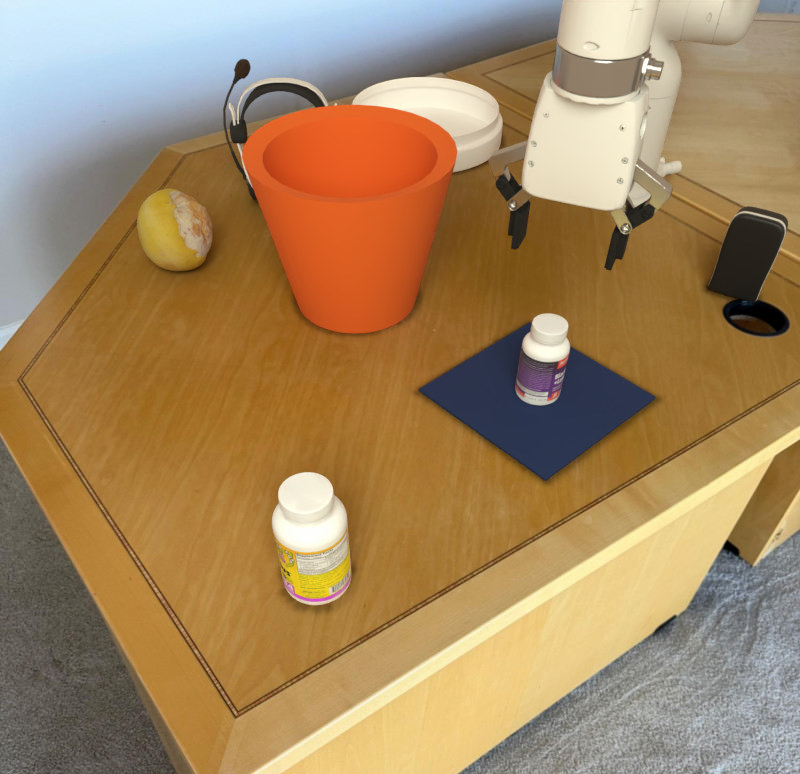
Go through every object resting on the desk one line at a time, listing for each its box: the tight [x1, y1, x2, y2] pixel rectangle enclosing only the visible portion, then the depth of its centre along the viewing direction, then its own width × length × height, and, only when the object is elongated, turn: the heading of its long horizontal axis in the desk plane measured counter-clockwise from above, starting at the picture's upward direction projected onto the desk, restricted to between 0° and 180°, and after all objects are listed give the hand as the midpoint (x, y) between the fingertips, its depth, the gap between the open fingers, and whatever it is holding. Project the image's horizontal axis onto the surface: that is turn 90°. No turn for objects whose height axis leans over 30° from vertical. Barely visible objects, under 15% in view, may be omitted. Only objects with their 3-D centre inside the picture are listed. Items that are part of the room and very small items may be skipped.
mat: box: [418, 321, 656, 482], centre depth 91 cm, size 20×20×1 cm
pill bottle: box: [515, 312, 571, 405], centre depth 87 cm, size 5×5×10 cm
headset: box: [222, 58, 338, 201], centre depth 113 cm, size 17×8×20 cm, turn 91°
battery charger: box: [707, 205, 789, 303], centre depth 101 cm, size 7×4×11 cm, turn 60°
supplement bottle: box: [271, 471, 352, 606], centre depth 69 cm, size 7×7×13 cm
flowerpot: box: [242, 104, 458, 335], centre depth 96 cm, size 25×25×20 cm
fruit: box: [136, 188, 214, 272], centre depth 105 cm, size 10×11×10 cm
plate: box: [351, 76, 504, 173], centre depth 133 cm, size 27×27×6 cm
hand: (563, 252), depth 77 cm, fingers open, 9 cm apart
